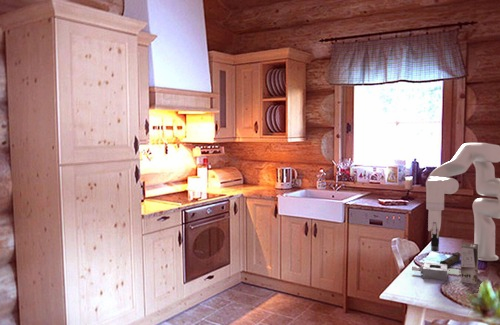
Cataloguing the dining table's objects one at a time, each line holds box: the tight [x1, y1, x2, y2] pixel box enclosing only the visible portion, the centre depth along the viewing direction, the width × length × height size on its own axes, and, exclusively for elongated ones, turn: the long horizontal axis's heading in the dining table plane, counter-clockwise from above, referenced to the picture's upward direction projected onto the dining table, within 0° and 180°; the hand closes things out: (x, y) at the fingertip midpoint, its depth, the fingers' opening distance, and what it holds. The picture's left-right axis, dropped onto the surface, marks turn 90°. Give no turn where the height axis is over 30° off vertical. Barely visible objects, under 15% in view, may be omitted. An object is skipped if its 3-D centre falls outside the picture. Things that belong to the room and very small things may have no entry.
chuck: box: [411, 261, 448, 282], centre depth 197 cm, size 10×15×5 cm, turn 64°
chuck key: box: [430, 231, 440, 253], centre depth 195 cm, size 3×3×9 cm
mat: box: [447, 267, 460, 276], centre depth 202 cm, size 8×8×1 cm
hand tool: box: [439, 251, 461, 268], centre depth 214 cm, size 19×4×5 cm, turn 129°
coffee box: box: [460, 242, 479, 285], centre depth 190 cm, size 9×6×16 cm
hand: (435, 244), depth 195 cm, fingers closed on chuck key, 3 cm apart
